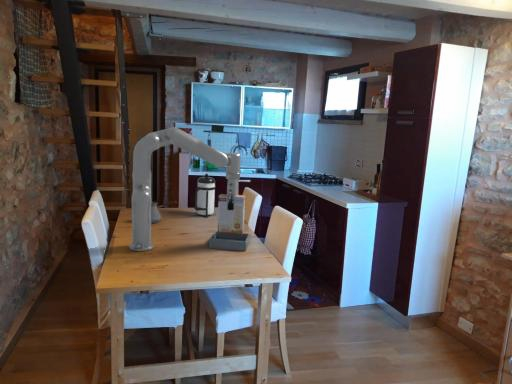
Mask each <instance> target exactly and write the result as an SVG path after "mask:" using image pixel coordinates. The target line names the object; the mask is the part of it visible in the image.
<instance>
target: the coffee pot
mask: <svg viewBox="0 0 512 384" xmlns="http://www.w3.org/2000/svg"><path fill="white" fill-rule="evenodd" d="M174 203H175V204H177V203H178V202H177V200H174V201H173V200H172V201H171V202H167V203H164V204H162V205H158V202H157V201H151V225H152V224H158V223H159V222H160V221H161V220H162V214H161V213H160V211H159V208H162V207H165V206H169V205H171V204H174Z"/></svg>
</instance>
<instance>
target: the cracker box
mask: <svg viewBox="0 0 512 384" xmlns="http://www.w3.org/2000/svg"><path fill="white" fill-rule="evenodd" d="M231 197H233V196H231ZM231 199H232V198H231ZM233 203H234V210H228V197H227V193H226V194H225V193H220V194H219V195H218V204H217V205H218V207H217V231H218V233H231V234H243V233H244V232H245V214H246V213H245V210H246V207H245V206H246V195H245V194H243V195H242V194H238V195H237V197H236V198H235V197H234V200H233Z"/></svg>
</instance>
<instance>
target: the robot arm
mask: <svg viewBox="0 0 512 384" xmlns="http://www.w3.org/2000/svg"><path fill="white" fill-rule="evenodd" d="M169 145H174V146H175V147H177V148H179V149H182V150H183V151H186V152H187V153H189V154H191V155H193V156H195V157H197V158H200V159H202V160H203V161H205V162H207V163H210V164H211V165H213V166H215V167H217V168H220V169H222V168H226V169H225V179H226V180H227V183H226V184H227V186H226V194H227V197H228V210H234V203H233V200H234V197H235V198H236V197H237V195H239V180H240V178H241V165H242V163H241V162H242V161H241V160H242V157H241V153H238V152H222V151H220V150H217V149H216V148H214V147H212V146H211V145H209V144H207V143H205V141H202V140H201V139H199V138H198V137H195V136H194V135H191V134H190V133H187V132H186V131H184V130H182V129H181V128H178V127H175V126H171V127H169V128H165V129H161V130H158V131H154V132H153V131H152V132H149V133H147V134H146V135H145V136H143V137H142V138H140V139H139V140H138V141H137V142H136V144H135V146H134V149H133V153H132V154H133V155H132V156H133V158H132V174H131V176H132V194H131V243H130V244H129V245H128V249H129V250H131V251H136V252H146V251H150V250H152V249H154V247H155V244H154V243H152V224H151V202H152V171H151V163H152V162H151V161H152V160H151V158H152V153H153V152H155V151H156V150H158V149H159V148H162V147H166V146H169ZM231 196H233V197H231ZM231 198H232V199H231Z"/></svg>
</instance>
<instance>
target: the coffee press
mask: <svg viewBox="0 0 512 384" xmlns="http://www.w3.org/2000/svg"><path fill="white" fill-rule="evenodd" d="M196 181H197V182H196V183H197V186H196V187H197V188H195V191H194V194H193V209H194V210H195V212H194V215H196V216H198V215H201V216H205V218H207V219H208V216H211V215H214V216H216V214H217V213H215V201H216V200H215V199H216V198H215V197H216V196H215V195H216V180H215V178H214V177H211V176H209V174H208V173H205V174H204V176H200V177H198V179H197V180H196Z"/></svg>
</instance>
